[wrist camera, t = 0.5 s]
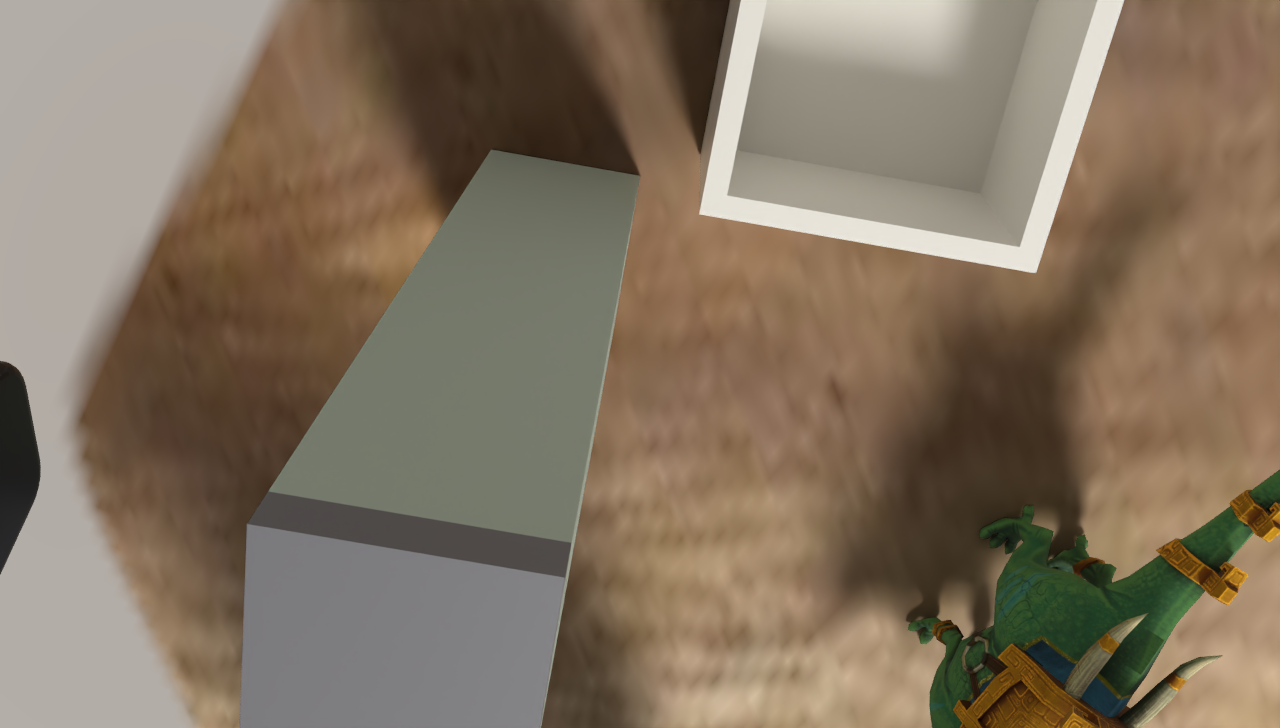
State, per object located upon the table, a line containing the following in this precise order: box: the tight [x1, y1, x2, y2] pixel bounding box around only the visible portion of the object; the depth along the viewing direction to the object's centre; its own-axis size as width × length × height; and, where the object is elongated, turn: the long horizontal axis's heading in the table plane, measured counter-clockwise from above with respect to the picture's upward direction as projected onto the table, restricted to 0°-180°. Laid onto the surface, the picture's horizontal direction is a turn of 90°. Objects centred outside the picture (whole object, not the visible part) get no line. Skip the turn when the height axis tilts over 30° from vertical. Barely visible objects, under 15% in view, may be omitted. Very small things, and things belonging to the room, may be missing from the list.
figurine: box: [908, 470, 1280, 728], centre depth 23 cm, size 3×12×8 cm, turn 149°
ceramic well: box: [699, 0, 1124, 273], centre depth 21 cm, size 6×6×4 cm
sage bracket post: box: [240, 150, 640, 728], centre depth 18 cm, size 3×3×14 cm
